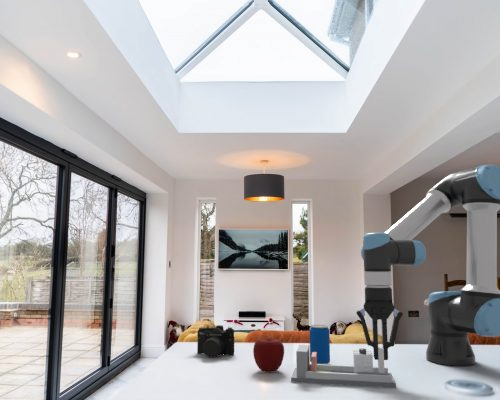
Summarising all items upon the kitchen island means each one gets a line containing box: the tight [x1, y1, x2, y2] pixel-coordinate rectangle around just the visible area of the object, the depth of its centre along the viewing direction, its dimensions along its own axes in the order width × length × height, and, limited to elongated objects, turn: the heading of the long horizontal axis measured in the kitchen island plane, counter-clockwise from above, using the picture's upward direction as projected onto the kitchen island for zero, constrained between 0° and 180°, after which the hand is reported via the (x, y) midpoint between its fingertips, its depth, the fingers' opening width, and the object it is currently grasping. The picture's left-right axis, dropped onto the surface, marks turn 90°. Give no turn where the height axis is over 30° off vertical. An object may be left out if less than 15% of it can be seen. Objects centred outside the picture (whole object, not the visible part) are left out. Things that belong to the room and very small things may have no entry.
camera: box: [196, 324, 235, 358], centre depth 156 cm, size 14×11×10 cm
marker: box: [310, 352, 317, 372], centre depth 126 cm, size 1×6×5 cm, turn 169°
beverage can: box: [309, 324, 331, 365], centre depth 144 cm, size 6×6×12 cm
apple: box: [252, 337, 285, 373], centre depth 134 cm, size 10×10×10 cm
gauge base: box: [290, 344, 397, 389], centre depth 125 cm, size 28×11×8 cm, turn 79°
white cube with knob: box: [352, 348, 374, 374], centre depth 124 cm, size 5×6×7 cm
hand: (381, 371), depth 123 cm, fingers closed
